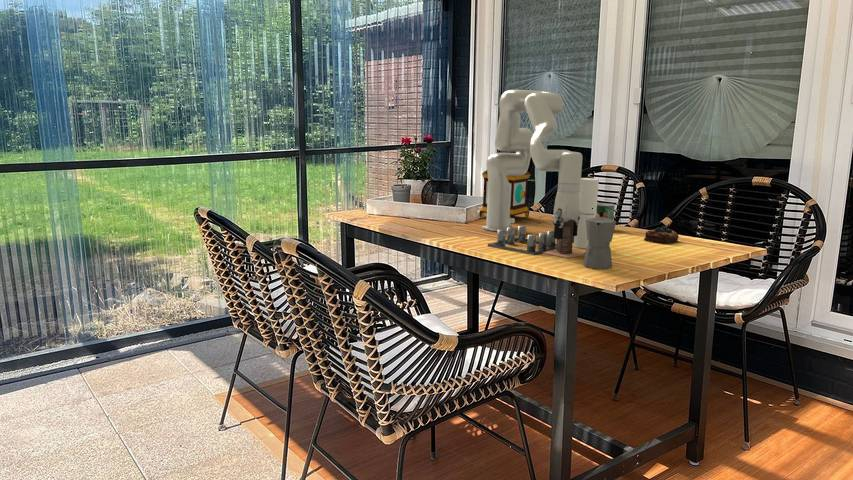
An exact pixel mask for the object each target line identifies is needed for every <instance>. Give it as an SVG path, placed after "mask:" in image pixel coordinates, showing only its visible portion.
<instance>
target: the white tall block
mask: <svg viewBox="0 0 853 480" xmlns="http://www.w3.org/2000/svg"><path fill="white" fill-rule="evenodd" d="M599 184H600V181H599V178H592V177H581V184H580V193H579V198H580V206H579V210H580V211H581V215H580V219H579V224H578V231H577V236H573V247H574V248H579V249H587V246H588V242H589V241H588V239H587V229H586V219H590V218H595V217H596V209H597V203H598V194H599ZM592 208H593V209H592Z"/></svg>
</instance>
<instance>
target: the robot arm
mask: <svg viewBox="0 0 853 480" xmlns="http://www.w3.org/2000/svg"><path fill="white" fill-rule="evenodd" d="M563 101H564V100H563V99H562V97H561V96H560V94H558V93H557V92H549V91H545V90H544V91H543V90H531V89H529V90H527V89H509V90H508V89H507V90H506V91H504V92H503V93H502V94H501V96H500V98H499V119H498V124H497V129H496V132H495V133H496V134H495V141H494V145H495V146H494V147H495V148H496V149H497V150H498V151H501V152H496V153H492V154H490V155H489V156H488V158H487V160H486V170H487V172H488V199H487V213H486V224H483V225H482V229H483V230H486V231H490V232H498V229H504V230H506V232H507V227H513V225H511V224H512V223H513V224H514V223H515V222H516V220H515V217H514V218H510V200H511V186H510V183H509V181H508V180H507V178H506V176H522V175H524V174H525V173H526V172H527V171H528V169H529V166H530V161H531V159H532V162H533V164H534V166H535V167H536V169H538V170H539V171H540V172H558V179H557V180H558V181H557V192H556V194H555V195H556V196H555V198H554V206H553V214H552V215H551V217H552V224H553V227H554V228H553V230H554V239H556V240H557V239H560V240H562V239H563V228H562V227H563V224H564V222H567V221H568V220H571V219H572V220H574V223H573V237H574V236H577V231H578V224H579V219H580V215H581V211H580V210H579V206H580V198H579V193H580V184H581V178H582V170H583V169H582V167H583V154H582V153H581V152H577V151H571V150H568V149H545V148H544V145H543V143H542V140H543V139H545V138H547V137H549V136H551V135H552V134H554V133H555V132H556V130H557V128H558V123H557V121H556V118H555V117H557V116H559V115H560V114H562V113H563V109H564V102H563ZM520 113H527V117H528V119H529V122H530V125H531V126H532V130H533V131H532V130H531V129H529V128H526V127H520V125H521V121H522V118H521V114H520ZM559 222H561V223H559Z"/></svg>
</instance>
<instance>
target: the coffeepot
mask: <svg viewBox="0 0 853 480" xmlns="http://www.w3.org/2000/svg"><path fill="white" fill-rule="evenodd" d="M603 215H604V212H603V211H599V217H595V218H590V219H586V229H587V239H588V241H589V242H588V246H587V249H586V248H585V249H586V250H585V252H586V253H585V254H584V258H583V261H582V265H583V266H585V267H584V268H587V269H590V268H592V270H598V269H599V270H601V271H603V270H605V269H606V270H610V269H612V268H613V262H612V260H613V259H612V250H611V244H610V243H611V242H612V240H613V237H614V233H615V229H616V224H617V221H616V220H614V219H613V220H612V219H608V218H606V217H605V216H603Z"/></svg>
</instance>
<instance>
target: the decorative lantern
mask: <svg viewBox="0 0 853 480" xmlns="http://www.w3.org/2000/svg"><path fill="white" fill-rule="evenodd" d="M481 176H482V178H483V194H482V195H483V197H482V206H481V208H480V209H479V215H478V216H479V218H480V219H483V218H484V213H485V214H487V199H488V172H487V169H486V170H485V171H483V172H482V173H481ZM530 176H531V173H530V171H528V170H527V172H526V173H525V174H524V175H522V176H506V178H507V180H508V181H509V183H510V186H511V200H510V219H511V218H514V219H515V216H519V215H523V214H524V217H525V218H526V219H528V218H529V217H530V210H529V207H528V204H527V203H528V202H527V201H528V186H529V185H528V183H529V182H528V181H529V179H530V178H531V177H530Z"/></svg>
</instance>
